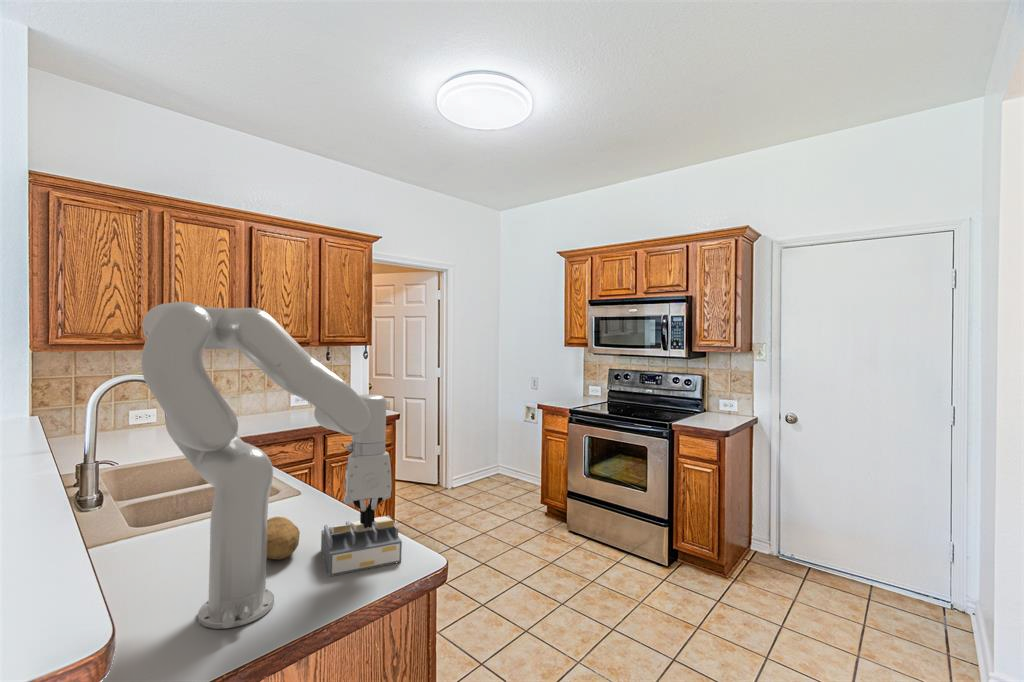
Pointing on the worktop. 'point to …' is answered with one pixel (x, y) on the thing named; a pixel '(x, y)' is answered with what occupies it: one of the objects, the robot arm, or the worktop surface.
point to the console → (360, 549)
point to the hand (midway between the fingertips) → (367, 525)
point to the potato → (281, 538)
